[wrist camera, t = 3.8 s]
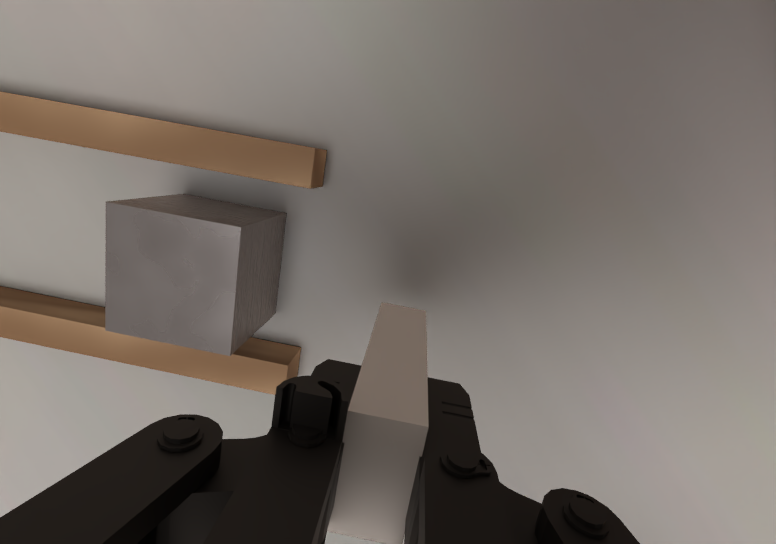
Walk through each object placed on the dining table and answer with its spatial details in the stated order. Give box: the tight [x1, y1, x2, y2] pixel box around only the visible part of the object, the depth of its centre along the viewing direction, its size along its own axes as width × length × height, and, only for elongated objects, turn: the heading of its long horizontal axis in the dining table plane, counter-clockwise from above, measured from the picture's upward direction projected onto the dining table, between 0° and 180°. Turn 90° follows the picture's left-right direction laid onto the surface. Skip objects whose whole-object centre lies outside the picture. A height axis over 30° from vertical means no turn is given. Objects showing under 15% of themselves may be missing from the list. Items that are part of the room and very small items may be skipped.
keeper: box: [105, 194, 287, 356], centre depth 18 cm, size 5×5×5 cm
